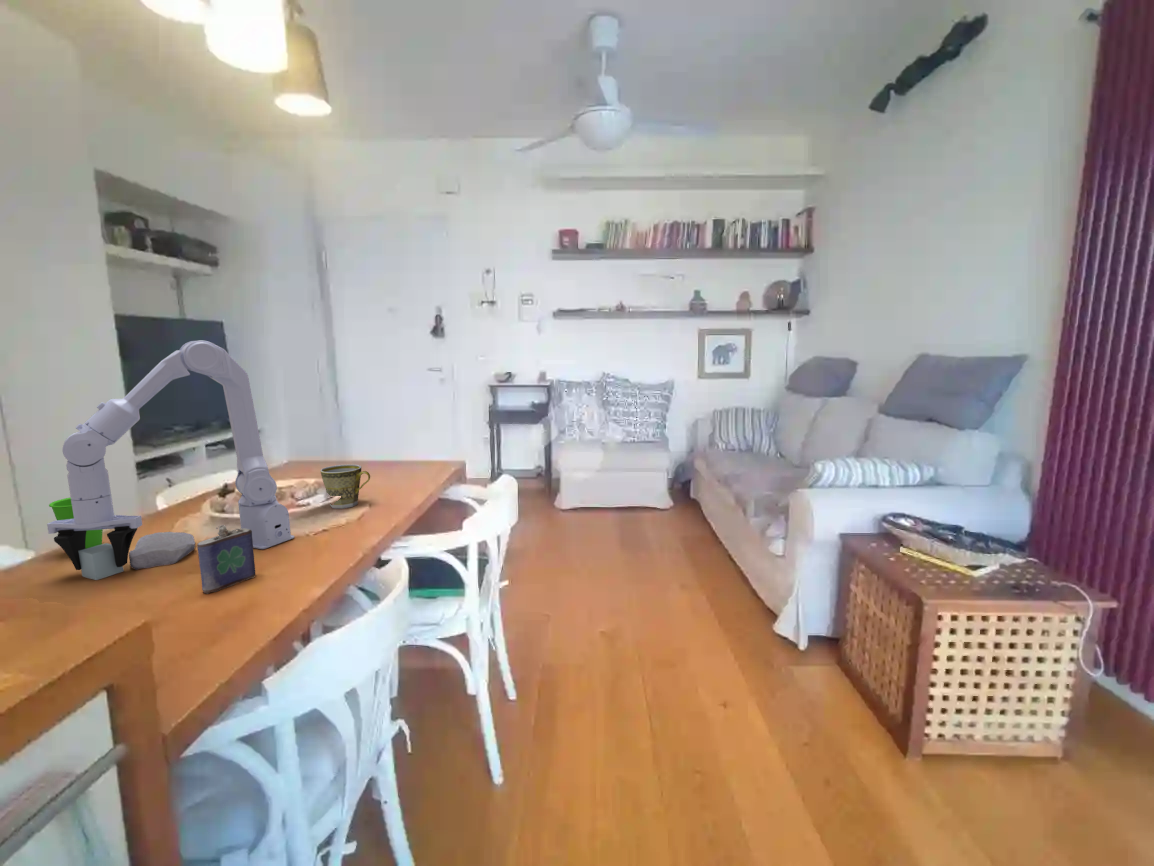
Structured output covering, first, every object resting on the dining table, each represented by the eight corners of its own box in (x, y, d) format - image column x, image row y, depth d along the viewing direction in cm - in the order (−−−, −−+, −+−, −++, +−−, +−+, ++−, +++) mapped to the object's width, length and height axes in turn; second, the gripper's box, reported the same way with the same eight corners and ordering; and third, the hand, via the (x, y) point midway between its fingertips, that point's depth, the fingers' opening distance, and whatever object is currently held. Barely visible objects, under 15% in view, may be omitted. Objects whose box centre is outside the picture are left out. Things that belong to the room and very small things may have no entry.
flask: (207, 595, 99) (200, 534, 97) (198, 591, 100) (190, 532, 98) (259, 575, 107) (253, 519, 105) (249, 573, 108) (243, 517, 106)
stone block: (196, 552, 125) (139, 551, 120) (199, 531, 124) (142, 529, 120) (187, 573, 114) (125, 573, 110) (190, 550, 114) (127, 549, 109)
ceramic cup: (315, 510, 149) (312, 472, 147) (337, 499, 158) (334, 464, 157) (362, 511, 146) (359, 473, 145) (381, 501, 156) (378, 464, 155)
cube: (123, 571, 110) (120, 546, 109) (96, 580, 106) (92, 554, 105) (109, 567, 112) (106, 543, 111) (82, 576, 108) (78, 550, 107)
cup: (110, 540, 128) (103, 492, 126) (115, 550, 121) (108, 499, 119) (56, 551, 121) (47, 500, 120) (58, 562, 115) (50, 509, 113)
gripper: (147, 488, 111) (156, 556, 113) (62, 493, 109) (73, 561, 111) (125, 498, 104) (135, 569, 107) (34, 503, 102) (46, 576, 104)
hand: (102, 566), depth 108 cm, fingers closed on cube, 6 cm apart
